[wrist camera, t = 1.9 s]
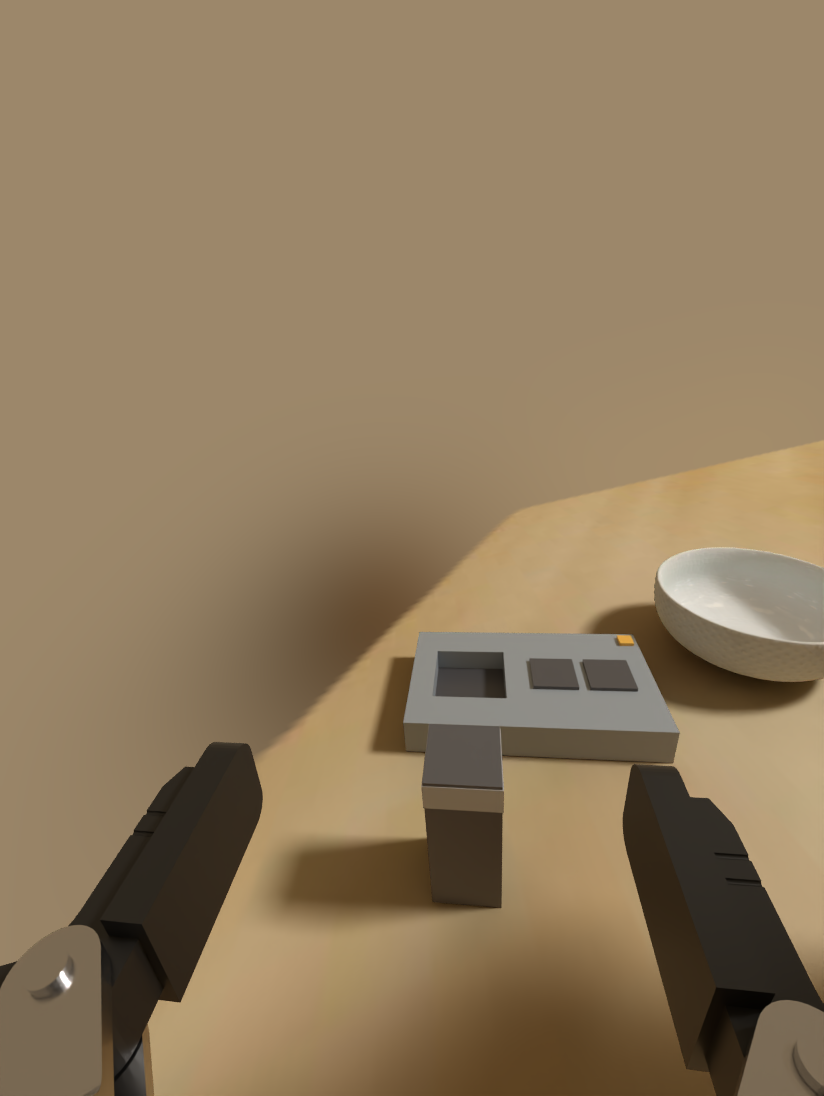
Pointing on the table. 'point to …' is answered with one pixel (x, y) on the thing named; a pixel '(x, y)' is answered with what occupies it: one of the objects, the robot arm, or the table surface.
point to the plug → (464, 813)
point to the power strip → (542, 694)
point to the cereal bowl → (746, 611)
